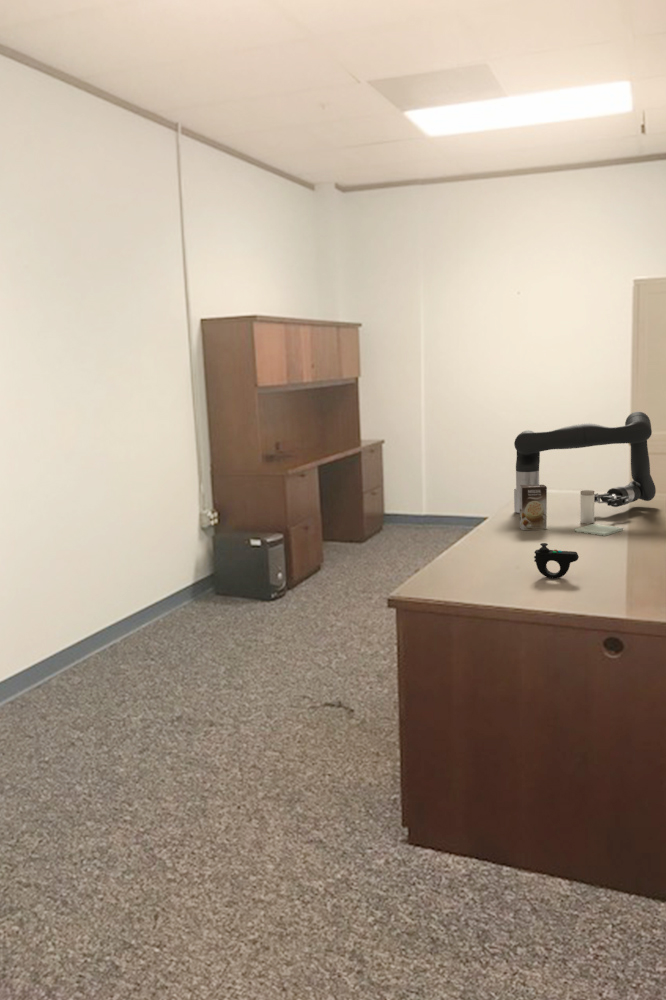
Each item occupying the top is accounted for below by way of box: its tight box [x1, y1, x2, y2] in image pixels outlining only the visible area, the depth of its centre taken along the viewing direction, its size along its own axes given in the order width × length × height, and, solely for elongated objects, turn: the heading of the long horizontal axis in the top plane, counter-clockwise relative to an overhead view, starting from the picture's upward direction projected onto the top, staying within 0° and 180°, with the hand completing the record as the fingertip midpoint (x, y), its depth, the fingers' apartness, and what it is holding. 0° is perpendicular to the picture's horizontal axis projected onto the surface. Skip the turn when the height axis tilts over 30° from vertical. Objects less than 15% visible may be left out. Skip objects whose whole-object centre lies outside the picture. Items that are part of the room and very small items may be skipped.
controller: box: [533, 542, 580, 580], centre depth 228 cm, size 4×12×10 cm, turn 65°
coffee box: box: [519, 484, 548, 531], centre depth 294 cm, size 9×6×16 cm
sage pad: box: [574, 523, 624, 537], centre depth 285 cm, size 12×12×1 cm
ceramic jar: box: [579, 489, 595, 525], centre depth 299 cm, size 5×5×12 cm
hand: (597, 501), depth 303 cm, fingers open, 8 cm apart
